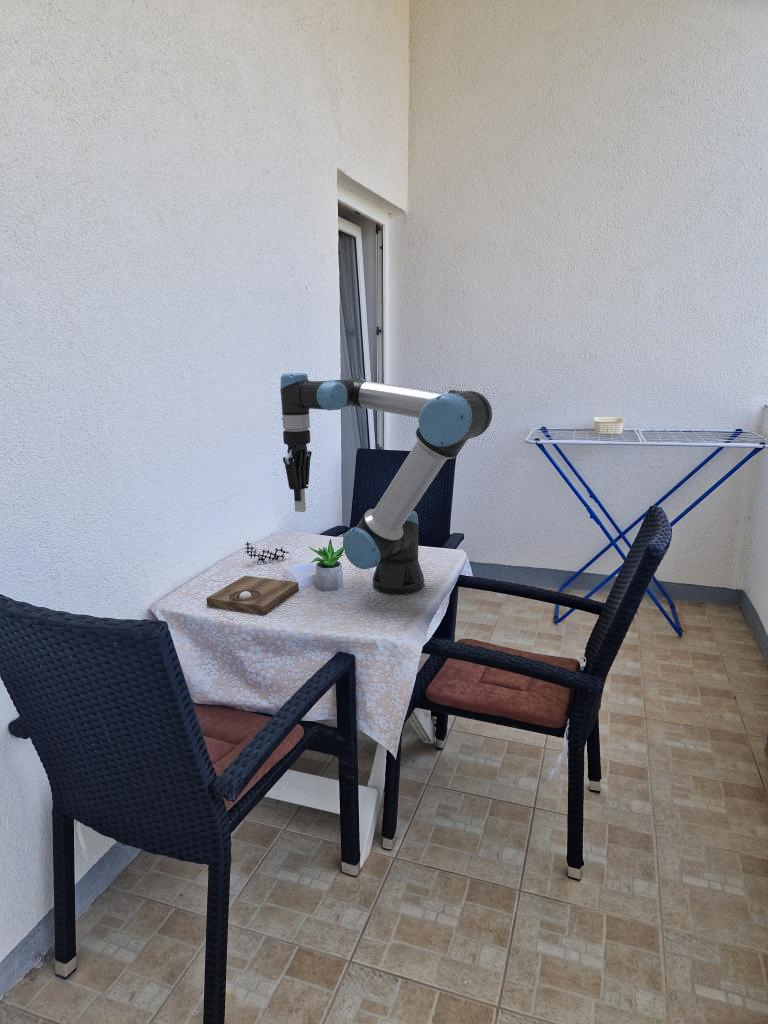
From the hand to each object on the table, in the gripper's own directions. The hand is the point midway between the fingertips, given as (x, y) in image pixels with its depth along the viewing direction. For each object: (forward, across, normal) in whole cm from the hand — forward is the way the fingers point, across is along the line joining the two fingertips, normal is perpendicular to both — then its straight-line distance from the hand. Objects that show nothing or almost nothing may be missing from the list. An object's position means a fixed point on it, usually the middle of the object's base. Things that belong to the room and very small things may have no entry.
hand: (300, 511), depth 188 cm
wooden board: (+22, +14, -8) cm, 28 cm away
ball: (+21, +19, -8) cm, 29 cm away
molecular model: (+23, -14, -21) cm, 34 cm away
